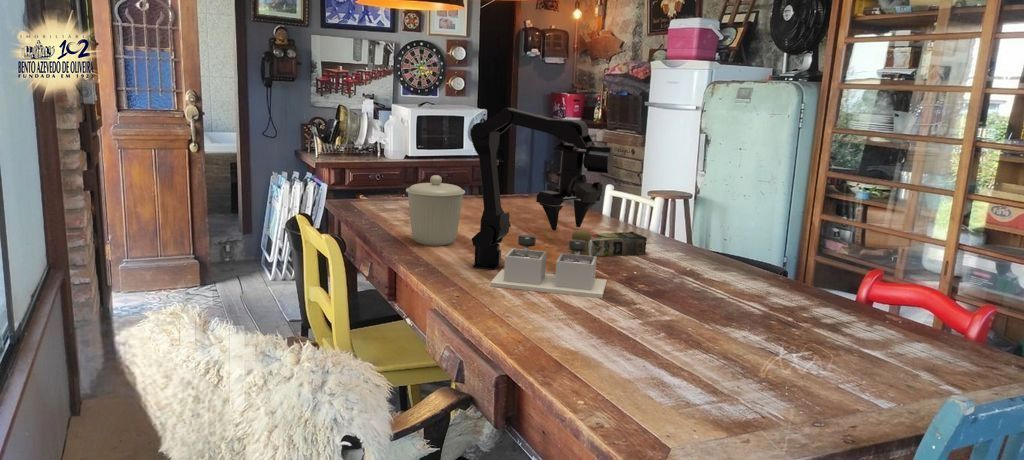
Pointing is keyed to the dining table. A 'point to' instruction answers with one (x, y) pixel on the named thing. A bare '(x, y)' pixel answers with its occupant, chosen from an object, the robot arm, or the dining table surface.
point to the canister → (434, 211)
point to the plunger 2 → (577, 251)
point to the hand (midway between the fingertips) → (566, 228)
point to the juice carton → (617, 244)
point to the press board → (550, 275)
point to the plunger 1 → (526, 246)
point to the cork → (582, 236)
